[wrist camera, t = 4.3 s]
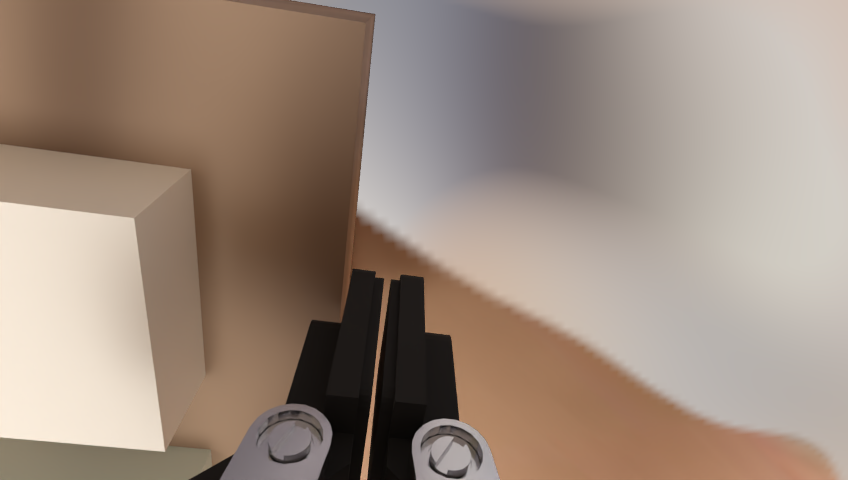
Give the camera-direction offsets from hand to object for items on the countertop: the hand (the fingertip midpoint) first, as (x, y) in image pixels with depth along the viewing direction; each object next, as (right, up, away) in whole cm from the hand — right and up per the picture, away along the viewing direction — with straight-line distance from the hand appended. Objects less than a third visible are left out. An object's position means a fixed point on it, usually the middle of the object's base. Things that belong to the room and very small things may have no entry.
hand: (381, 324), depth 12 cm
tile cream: (-7, +1, 0) cm, 8 cm away
